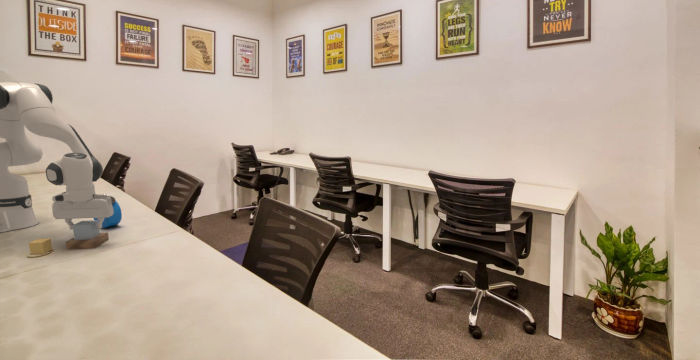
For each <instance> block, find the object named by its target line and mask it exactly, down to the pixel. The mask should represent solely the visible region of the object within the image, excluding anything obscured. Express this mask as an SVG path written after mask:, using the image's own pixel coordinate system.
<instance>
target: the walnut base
mask: <svg viewBox="0 0 700 360" xmlns="http://www.w3.org/2000/svg"><path fill="white" fill-rule="evenodd" d="M108 240H109V233H108V232H100V235H98V236H96V237H94V238H93V239H88V240H74V237H72V238H71V239H69V240H67V241H65V248H66V251H69V250H84V249H85V250H86V249H87V250H88V249H96V248H98V247H99V246H101V245H102V244H104V243H106V242H107V241H108Z"/></svg>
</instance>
